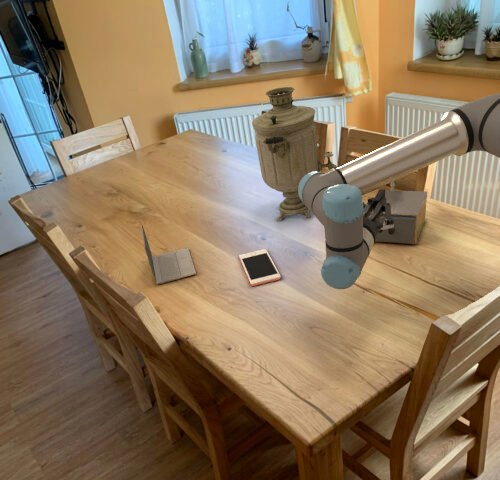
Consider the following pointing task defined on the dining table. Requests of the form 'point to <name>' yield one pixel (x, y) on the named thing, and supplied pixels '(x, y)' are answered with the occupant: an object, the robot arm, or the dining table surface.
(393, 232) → the drawer
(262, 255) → the cell phone
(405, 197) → the cabinet
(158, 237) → the dining table surface
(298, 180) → the samovar
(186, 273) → the laptop
